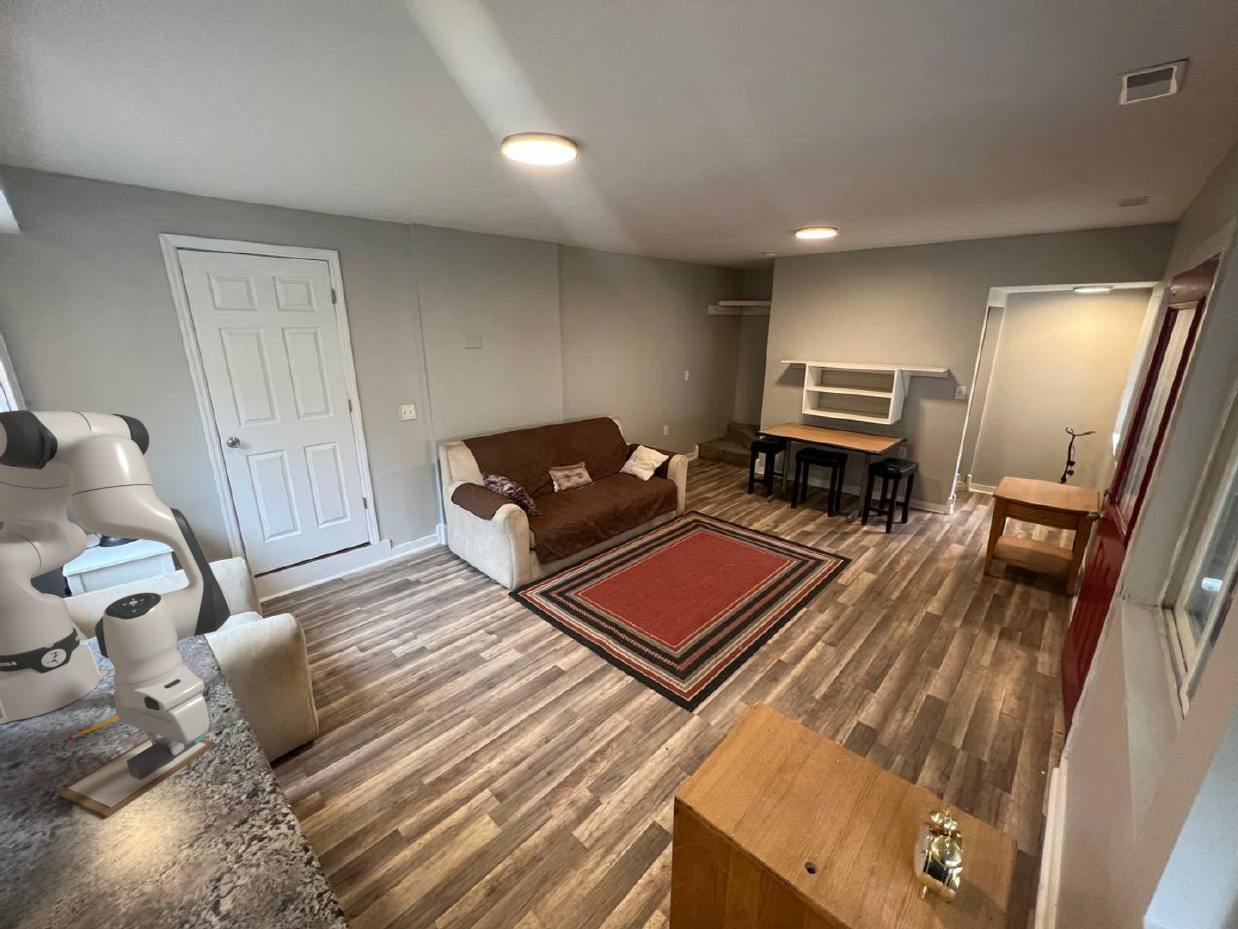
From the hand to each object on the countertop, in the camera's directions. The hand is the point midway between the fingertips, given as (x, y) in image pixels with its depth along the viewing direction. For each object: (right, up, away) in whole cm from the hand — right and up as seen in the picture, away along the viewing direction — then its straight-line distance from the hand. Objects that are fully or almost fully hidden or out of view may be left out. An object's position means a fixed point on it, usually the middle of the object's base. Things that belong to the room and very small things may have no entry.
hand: (169, 748), depth 88 cm
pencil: (-20, -1, +14) cm, 24 cm away
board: (-4, -3, -1) cm, 5 cm away
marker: (0, -1, 0) cm, 1 cm away
